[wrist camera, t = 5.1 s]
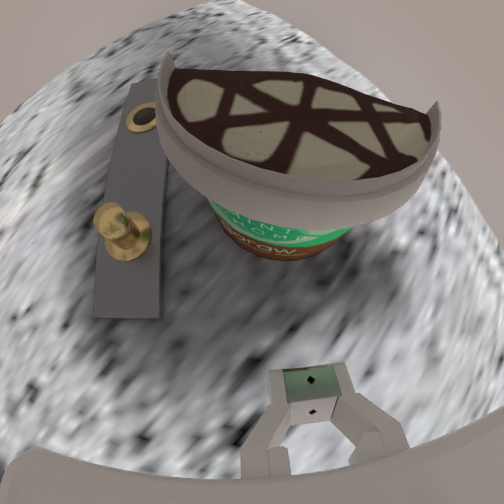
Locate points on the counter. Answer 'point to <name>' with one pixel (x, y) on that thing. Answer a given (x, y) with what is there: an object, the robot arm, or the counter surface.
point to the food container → (290, 154)
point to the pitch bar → (132, 216)
